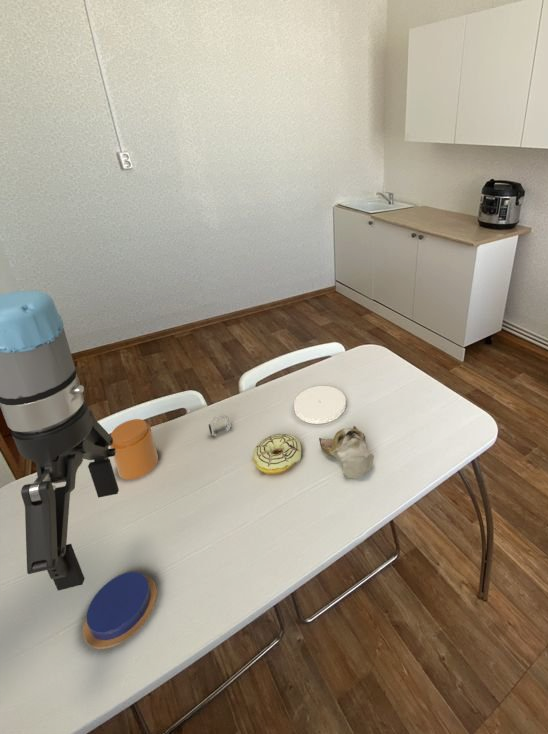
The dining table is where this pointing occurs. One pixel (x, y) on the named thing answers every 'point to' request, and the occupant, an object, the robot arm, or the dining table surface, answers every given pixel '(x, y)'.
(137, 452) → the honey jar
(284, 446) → the decorated donut
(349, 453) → the ceramic sculpture
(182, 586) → the dining table surface
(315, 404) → the plastic lid
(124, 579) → the jar lid
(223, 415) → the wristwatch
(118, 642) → the wooden coaster
